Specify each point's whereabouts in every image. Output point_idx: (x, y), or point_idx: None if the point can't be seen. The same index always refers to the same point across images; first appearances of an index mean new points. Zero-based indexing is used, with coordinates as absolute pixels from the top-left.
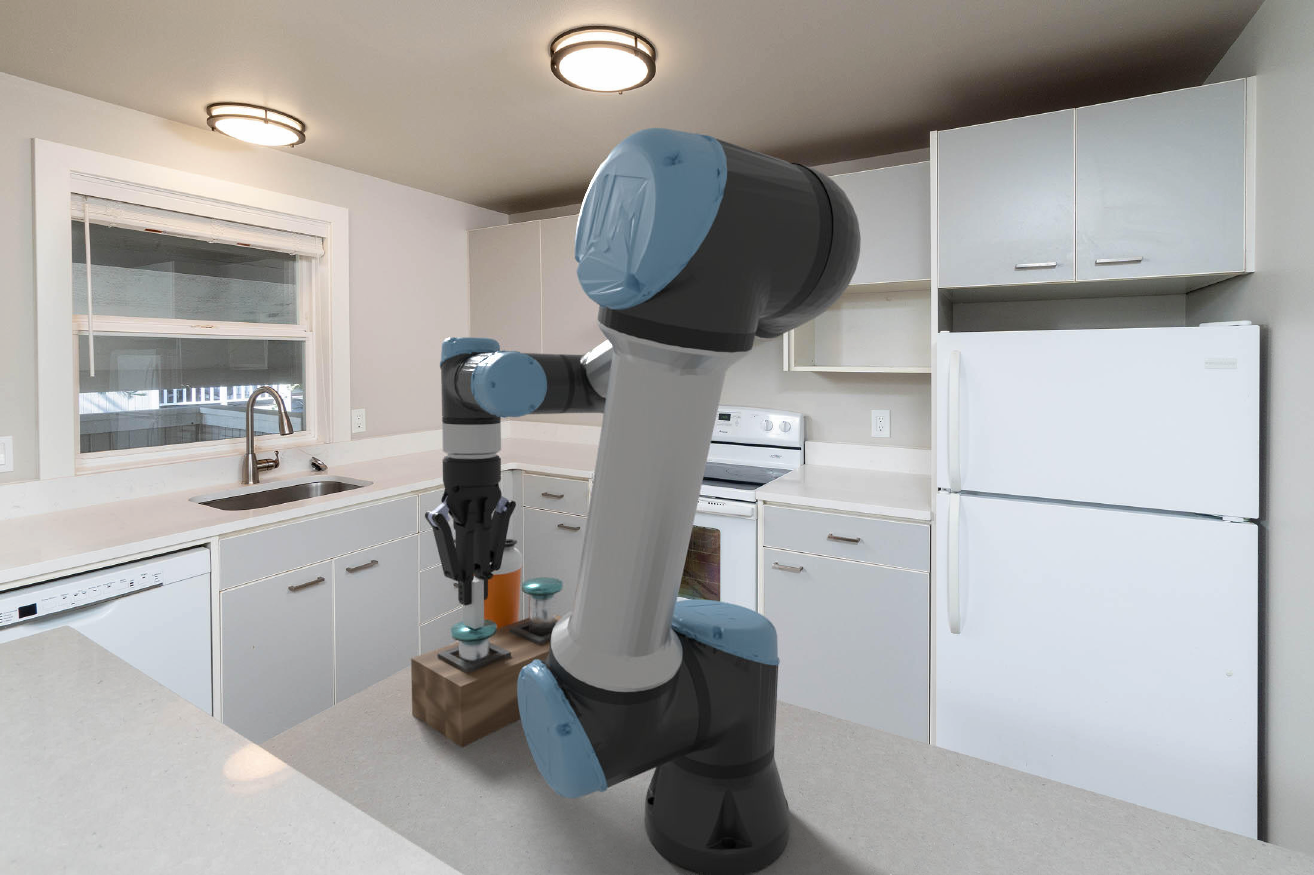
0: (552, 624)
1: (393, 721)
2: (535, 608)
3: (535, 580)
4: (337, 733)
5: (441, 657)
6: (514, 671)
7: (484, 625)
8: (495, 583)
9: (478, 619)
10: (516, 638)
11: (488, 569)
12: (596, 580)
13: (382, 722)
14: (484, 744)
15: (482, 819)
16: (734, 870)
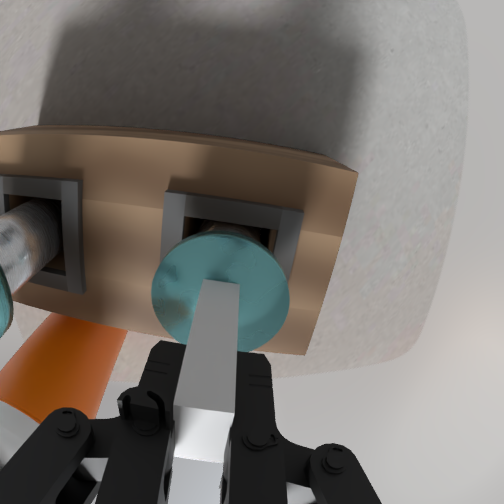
0: (17, 208)
1: None
2: (19, 253)
3: None
4: (371, 327)
5: None
6: (200, 142)
7: (190, 287)
8: (46, 406)
9: (222, 297)
10: (94, 253)
11: (125, 439)
12: None
13: (328, 308)
14: (297, 128)
15: (418, 26)
16: None
